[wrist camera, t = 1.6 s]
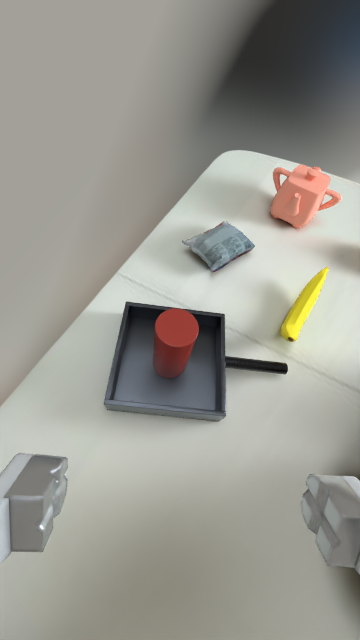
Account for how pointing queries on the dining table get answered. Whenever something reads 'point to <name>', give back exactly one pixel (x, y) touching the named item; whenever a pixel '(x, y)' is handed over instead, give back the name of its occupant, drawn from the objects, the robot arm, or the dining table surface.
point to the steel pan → (185, 390)
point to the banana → (302, 307)
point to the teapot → (301, 194)
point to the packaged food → (220, 245)
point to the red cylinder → (173, 342)
